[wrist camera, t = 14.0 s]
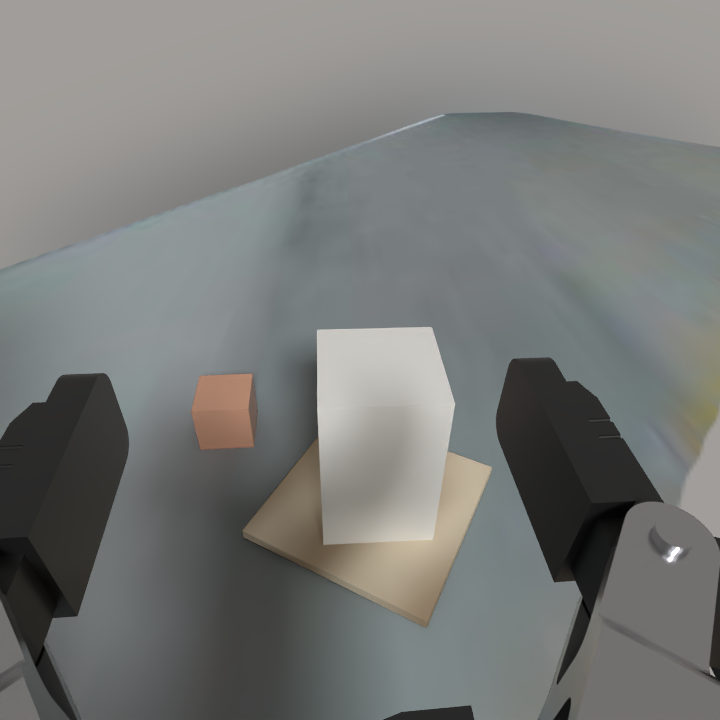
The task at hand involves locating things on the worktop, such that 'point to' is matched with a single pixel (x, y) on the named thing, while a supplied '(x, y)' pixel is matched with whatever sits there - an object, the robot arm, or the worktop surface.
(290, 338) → the worktop surface
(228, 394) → the block
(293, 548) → the cork mat
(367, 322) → the worktop surface
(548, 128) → the worktop surface
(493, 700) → the worktop surface
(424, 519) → the white rectangular block
